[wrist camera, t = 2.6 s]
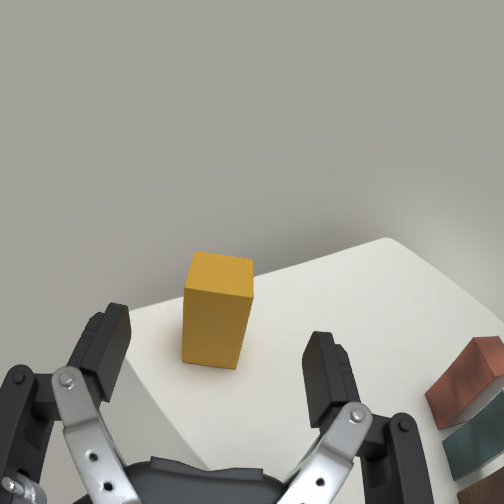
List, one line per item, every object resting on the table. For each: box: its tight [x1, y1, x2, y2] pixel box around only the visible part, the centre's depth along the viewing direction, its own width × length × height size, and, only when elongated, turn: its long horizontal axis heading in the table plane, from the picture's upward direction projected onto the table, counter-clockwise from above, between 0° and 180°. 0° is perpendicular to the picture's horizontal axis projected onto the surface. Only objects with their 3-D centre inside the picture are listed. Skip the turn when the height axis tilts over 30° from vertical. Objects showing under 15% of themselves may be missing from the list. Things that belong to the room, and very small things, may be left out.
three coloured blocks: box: [425, 336, 504, 504], centre depth 15 cm, size 18×5×9 cm, turn 0°
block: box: [182, 251, 254, 369], centre depth 25 cm, size 5×5×9 cm
